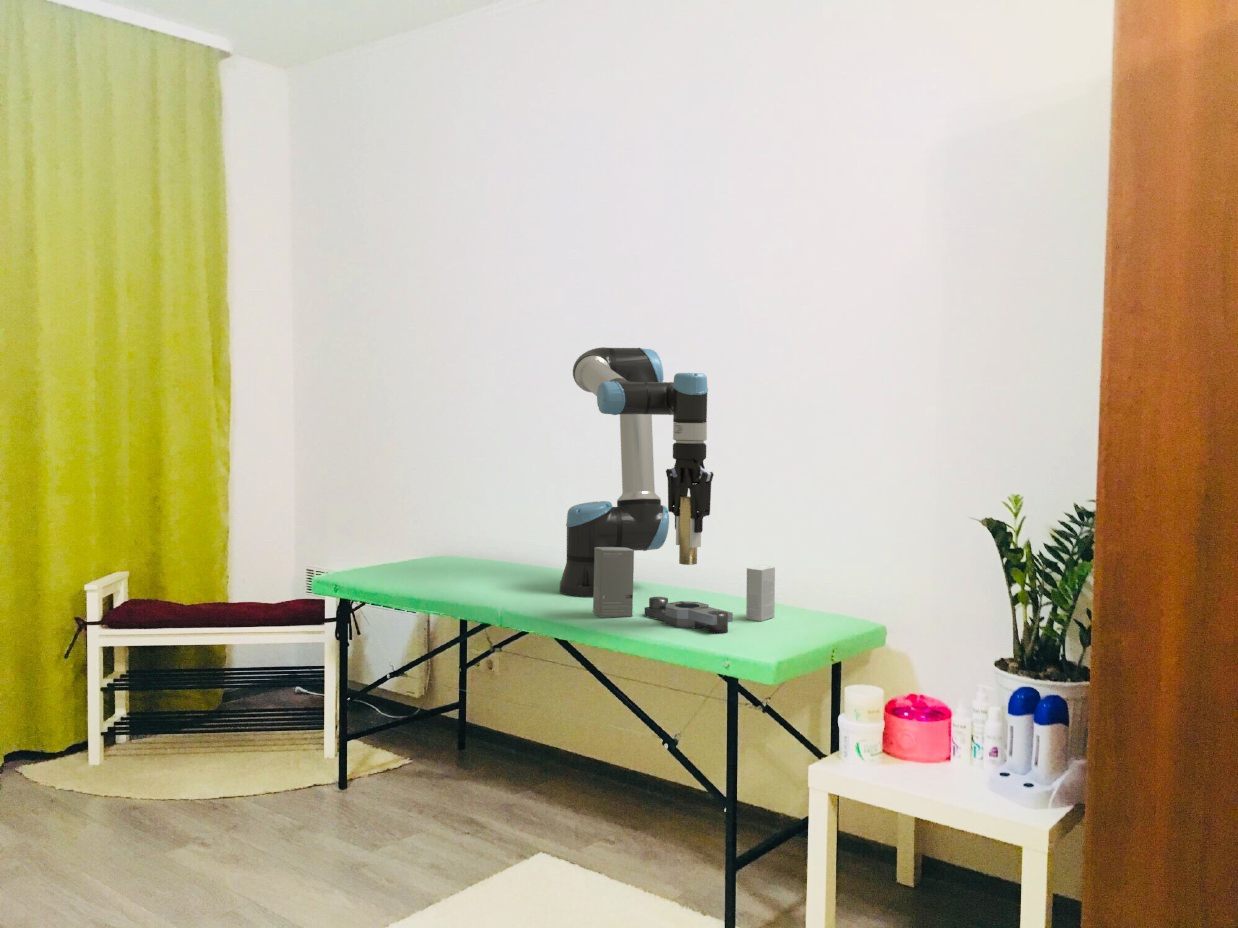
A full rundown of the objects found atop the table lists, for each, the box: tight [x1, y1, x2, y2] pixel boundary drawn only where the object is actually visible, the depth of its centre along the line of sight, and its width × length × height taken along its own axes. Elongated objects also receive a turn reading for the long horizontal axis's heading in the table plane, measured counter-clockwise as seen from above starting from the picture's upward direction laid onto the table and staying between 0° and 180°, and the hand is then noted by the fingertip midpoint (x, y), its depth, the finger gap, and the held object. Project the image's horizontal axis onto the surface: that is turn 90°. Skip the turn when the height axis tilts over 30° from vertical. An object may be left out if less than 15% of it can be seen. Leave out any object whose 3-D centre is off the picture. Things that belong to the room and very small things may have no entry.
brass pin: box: [678, 495, 698, 566], centre depth 230 cm, size 4×4×15 cm
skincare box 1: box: [592, 547, 635, 619], centre depth 239 cm, size 8×7×16 cm
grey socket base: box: [644, 596, 734, 635], centre depth 231 cm, size 24×10×4 cm, turn 38°
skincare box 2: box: [746, 564, 776, 622], centre depth 237 cm, size 6×4×12 cm
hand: (688, 545), depth 230 cm, fingers closed on brass pin, 4 cm apart
